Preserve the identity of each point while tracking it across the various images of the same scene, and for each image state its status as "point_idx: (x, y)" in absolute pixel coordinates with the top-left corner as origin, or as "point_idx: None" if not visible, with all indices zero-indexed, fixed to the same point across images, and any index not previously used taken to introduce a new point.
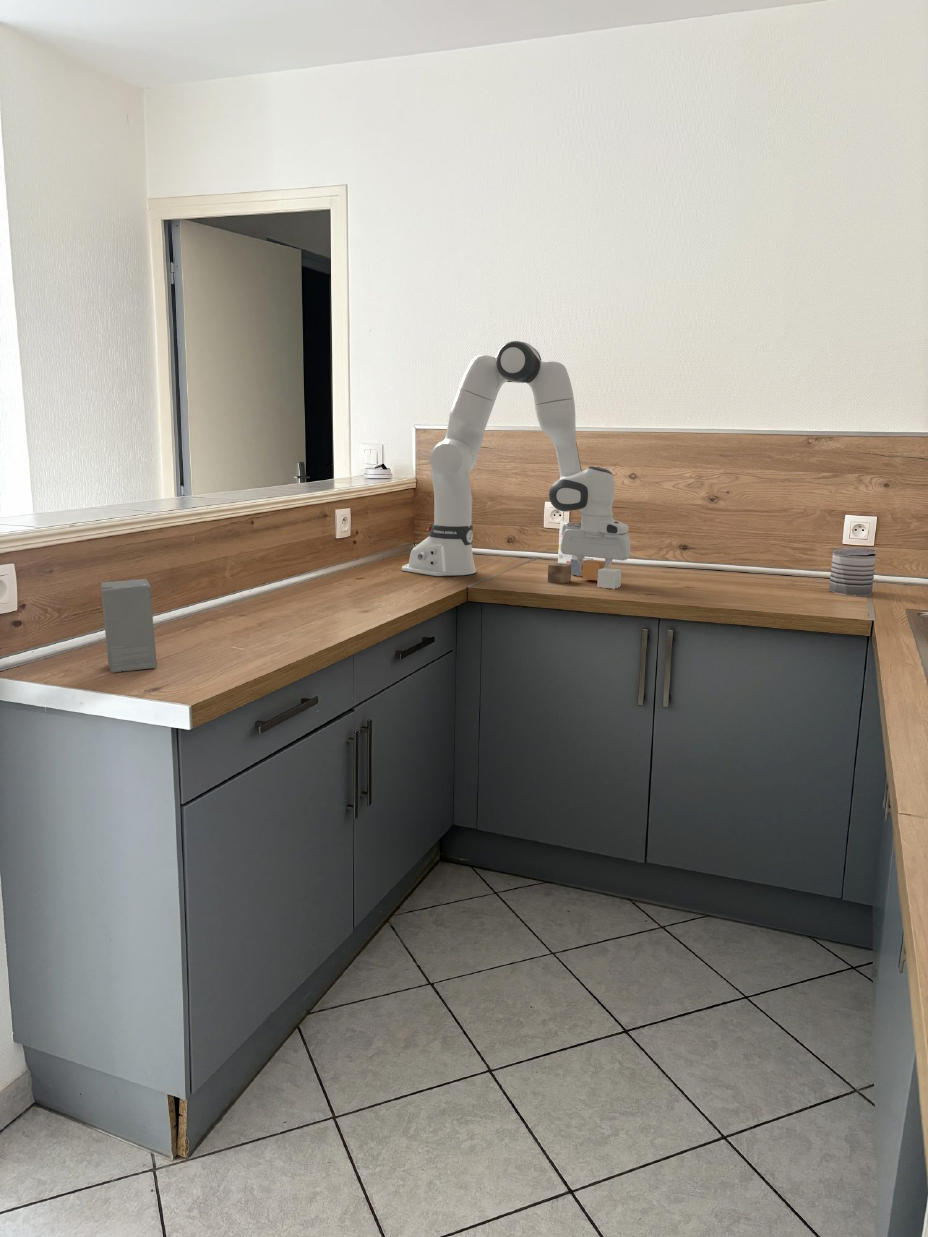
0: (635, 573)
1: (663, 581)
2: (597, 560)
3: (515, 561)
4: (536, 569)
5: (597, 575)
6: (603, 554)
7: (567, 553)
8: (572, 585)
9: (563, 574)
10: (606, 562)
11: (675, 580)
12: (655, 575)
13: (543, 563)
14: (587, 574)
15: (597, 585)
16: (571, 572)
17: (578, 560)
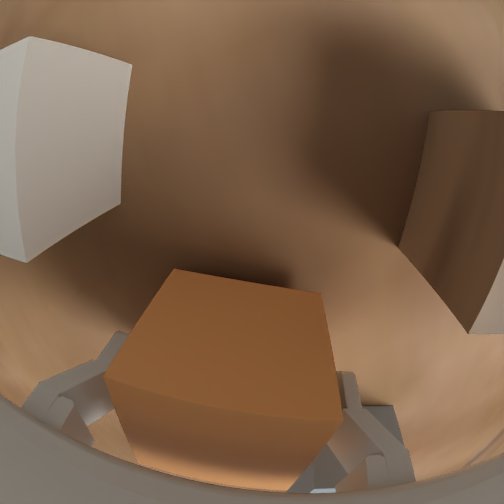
0: (152, 468)
1: (20, 374)
2: (204, 476)
3: (490, 453)
4: (486, 420)
5: (167, 291)
6: (34, 462)
7: (500, 461)
8: (349, 53)
9: (481, 112)
10: (62, 396)
11: (18, 390)
12: (94, 447)
13: (437, 475)
14: (271, 311)
15: (123, 63)
16: (390, 418)
17: (388, 445)
